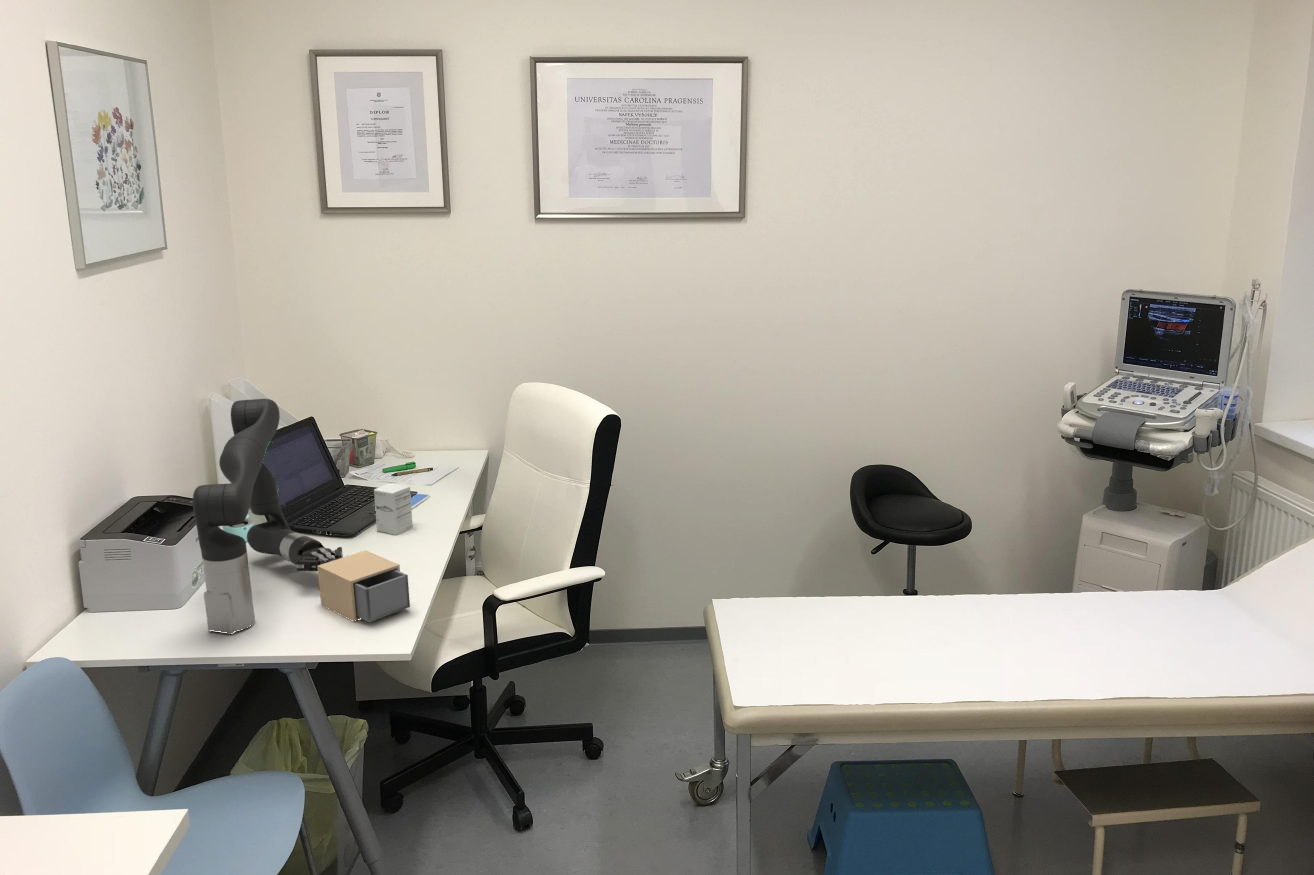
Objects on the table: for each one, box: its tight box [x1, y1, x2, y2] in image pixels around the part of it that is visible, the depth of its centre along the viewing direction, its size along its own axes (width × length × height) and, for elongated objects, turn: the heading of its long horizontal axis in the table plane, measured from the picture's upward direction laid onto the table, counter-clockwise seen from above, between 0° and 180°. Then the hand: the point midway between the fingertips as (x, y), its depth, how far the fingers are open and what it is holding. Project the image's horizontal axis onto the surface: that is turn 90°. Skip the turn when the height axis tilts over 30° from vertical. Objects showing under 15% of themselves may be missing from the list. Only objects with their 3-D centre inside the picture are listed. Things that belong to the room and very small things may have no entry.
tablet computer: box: [411, 493, 431, 510], centre depth 310 cm, size 19×13×1 cm, turn 166°
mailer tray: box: [353, 569, 411, 623], centre depth 238 cm, size 20×11×8 cm, turn 48°
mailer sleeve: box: [317, 550, 401, 622], centre depth 239 cm, size 14×13×10 cm
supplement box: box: [373, 482, 413, 536], centre depth 287 cm, size 7×7×13 cm
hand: (339, 567), depth 244 cm, fingers closed
